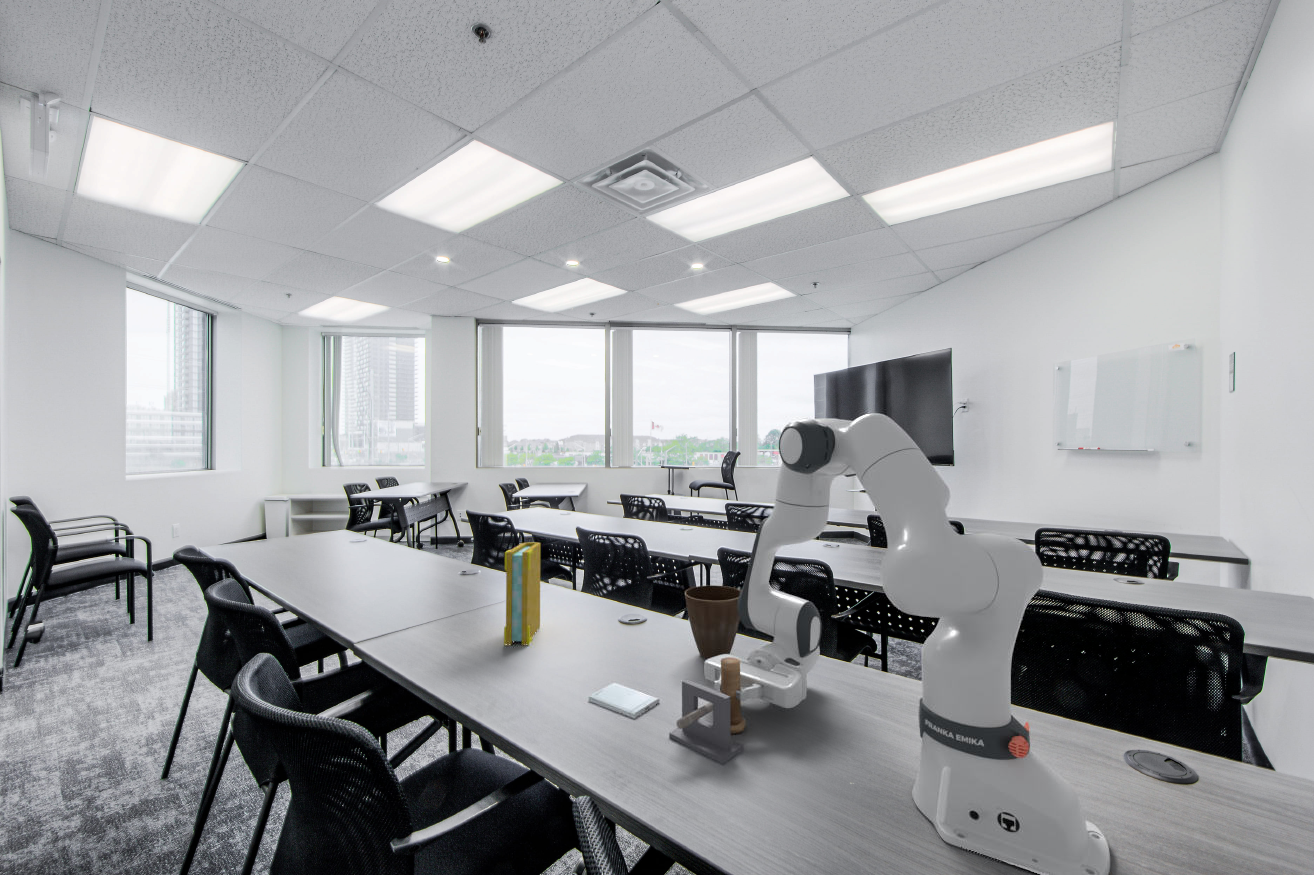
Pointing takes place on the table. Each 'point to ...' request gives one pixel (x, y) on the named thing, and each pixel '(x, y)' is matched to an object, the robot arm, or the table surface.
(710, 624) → the plant pot
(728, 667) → the hammer
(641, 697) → the hard drive
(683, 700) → the grey square frame stand
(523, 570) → the book
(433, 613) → the table surface
